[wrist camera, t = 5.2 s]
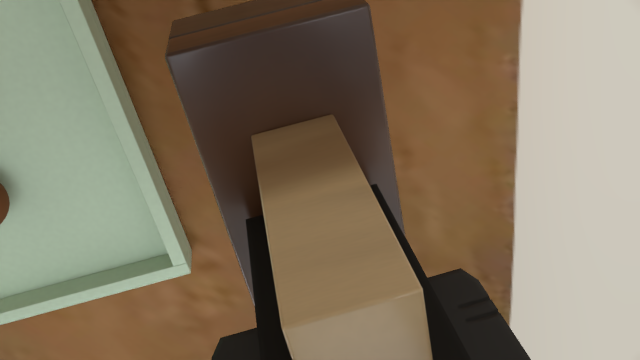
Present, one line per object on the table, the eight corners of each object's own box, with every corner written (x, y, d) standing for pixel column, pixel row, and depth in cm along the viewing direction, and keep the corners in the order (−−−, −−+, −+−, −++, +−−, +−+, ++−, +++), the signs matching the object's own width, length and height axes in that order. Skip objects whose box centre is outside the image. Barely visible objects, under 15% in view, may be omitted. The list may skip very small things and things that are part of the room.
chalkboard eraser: (171, 20, 16) (122, 217, 7) (339, -22, 16) (509, 114, 7) (273, 318, 22) (318, 631, 13) (394, 284, 22) (521, 568, 13)
